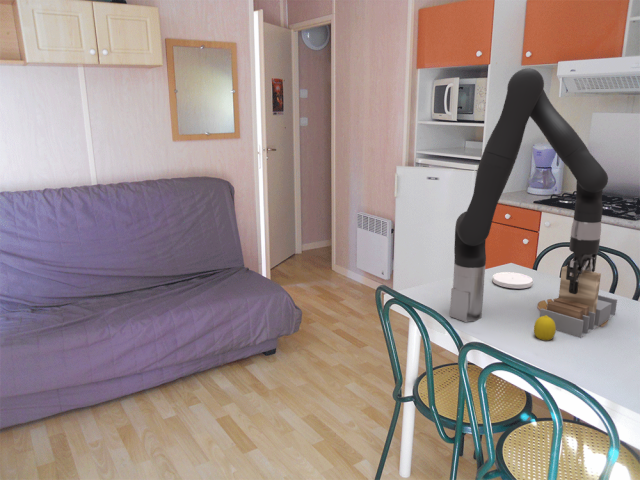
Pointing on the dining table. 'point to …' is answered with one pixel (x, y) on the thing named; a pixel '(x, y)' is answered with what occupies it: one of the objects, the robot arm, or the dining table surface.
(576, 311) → the offcut front
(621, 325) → the dining table surface
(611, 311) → the rack
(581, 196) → the robot arm
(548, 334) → the lemon
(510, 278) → the plastic lid
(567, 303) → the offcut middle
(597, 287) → the wooden block
